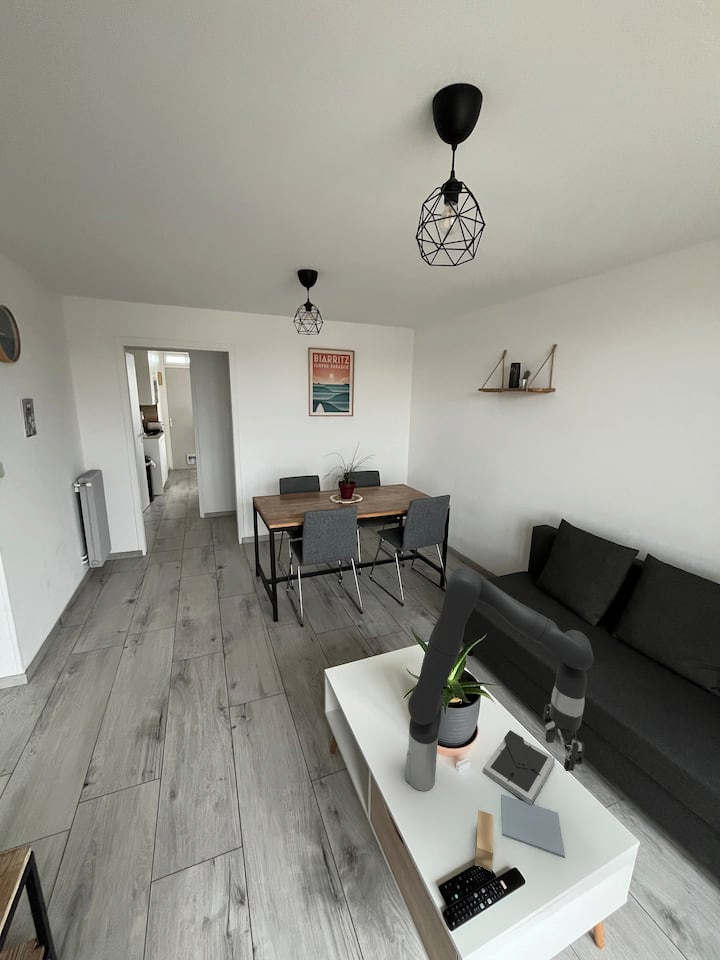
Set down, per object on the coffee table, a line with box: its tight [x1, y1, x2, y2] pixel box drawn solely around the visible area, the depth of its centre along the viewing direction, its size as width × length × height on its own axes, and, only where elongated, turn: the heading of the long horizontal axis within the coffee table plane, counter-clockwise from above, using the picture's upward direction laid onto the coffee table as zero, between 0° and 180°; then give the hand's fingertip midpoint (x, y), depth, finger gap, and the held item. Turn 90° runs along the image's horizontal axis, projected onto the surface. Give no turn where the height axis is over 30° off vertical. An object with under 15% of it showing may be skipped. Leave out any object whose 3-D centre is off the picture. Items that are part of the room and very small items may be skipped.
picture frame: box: [482, 729, 556, 805], centre depth 126 cm, size 16×3×21 cm
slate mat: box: [500, 794, 566, 858], centre depth 109 cm, size 16×12×1 cm
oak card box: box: [474, 809, 494, 873], centre depth 102 cm, size 4×10×7 cm, turn 161°
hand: (558, 755), depth 103 cm, fingers open, 8 cm apart
